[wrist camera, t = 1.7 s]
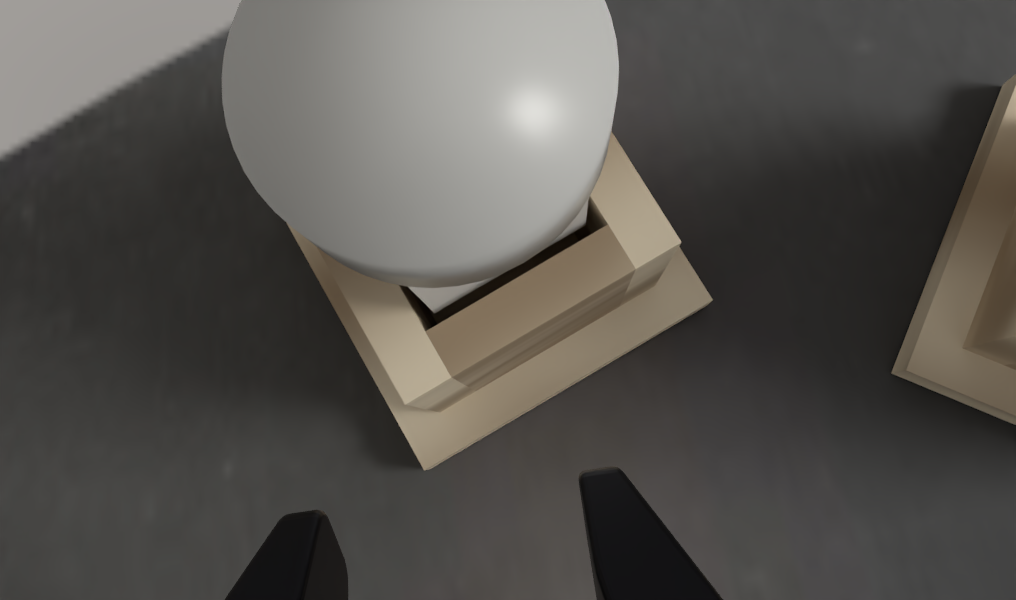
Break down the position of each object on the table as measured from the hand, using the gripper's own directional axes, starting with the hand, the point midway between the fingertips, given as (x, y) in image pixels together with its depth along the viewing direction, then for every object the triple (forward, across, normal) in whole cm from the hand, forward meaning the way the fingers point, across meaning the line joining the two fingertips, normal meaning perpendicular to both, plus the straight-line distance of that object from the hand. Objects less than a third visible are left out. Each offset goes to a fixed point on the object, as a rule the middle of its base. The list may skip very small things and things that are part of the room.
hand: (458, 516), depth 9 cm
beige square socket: (+14, 0, +6) cm, 15 cm away
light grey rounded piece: (+10, 0, +2) cm, 10 cm away
